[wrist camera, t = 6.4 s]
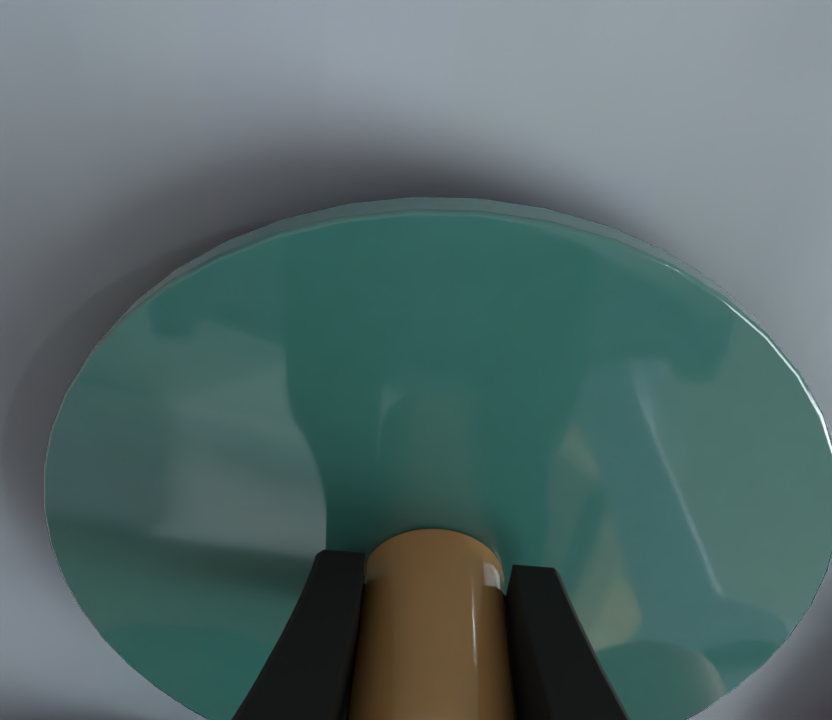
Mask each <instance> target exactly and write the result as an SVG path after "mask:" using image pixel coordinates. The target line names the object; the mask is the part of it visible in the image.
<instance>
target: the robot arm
mask: <svg viewBox="0 0 832 720" xmlns="http://www.w3.org/2000/svg"><path fill="white" fill-rule="evenodd" d="M364 566H365V553H362V552H350V551H337V550H325V549H324V550H322V551H321V552H319V553H318V554H316V557H315V560H314V563H313V565H312V568H311V571H310V574H309V576H308V578H307V581H306V583H305V586H304V588H303V590H302V593H301V595H300V597H299V599H298V601H297V603H296V606H295V608H294V610H293V612H292V614H291V616H290V618H289V620H288V622H287V624H286V626H285V628H284V630H283V632H282V634H281V636H280V637H279V639H278V641H277V643H276V645H275V646H274V648H273V650H272V652H271V654H270V655H269V657H268V659H267V661H266V663H265V664H264V666H263V668H262V670H261V672H260V673H259V675H258V677H257V679H256V681H255V682H254V684H253V686H252V687H251V689H250V691H249V692H248V694H247V696H246V697H245V699H244V700H243V702H242V704H241V705H240V707H239V708H238V710H237V712H236V713H235V715H234V716H233V718H232V719H231V720H345V717H346V709H347V701H348V693H349V685H350V678H351V671H352V666H353V660H354V655H355V649H356V643H357V635H358V627H359V618H360V610H361V601H362V593H363V584H364ZM506 604H507V616H508V627H509V638H510V649H511V659H512V670H513V682H514V693H515V704H516V716H517V720H631V719H630V717H629V716H628V714H627V712H626V710H625V708H624V706H623V705H622V703H621V701H620V699H619V697H618V695H617V694H616V692H615V690H614V688H613V686H612V684H611V682H610V681H609V679H608V677H607V675H606V673H605V671H604V669H603V667H602V665H601V663H600V661H599V659H598V657H597V655H596V653H595V651H594V649H593V647H592V645H591V643H590V641H589V639H588V637H587V635H586V633H585V631H584V629H583V626H582V624H581V622H580V620H579V618H578V616H577V613H576V611H575V609H574V607H573V605H572V602H571V600H570V598H569V595H568V593H567V591H566V588H565V586H564V583H563V581H562V578H561V576H560V574H559V573H558V572H557V570H556V569H555V568H551V567H539V566H526V565H514V564H513V565H512V570H511V574H510V579H509V584H508V588H507V593H506Z"/></svg>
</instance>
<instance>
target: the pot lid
mask: <svg viewBox="0 0 832 720" xmlns="http://www.w3.org/2000/svg"><path fill="white" fill-rule="evenodd" d="M43 479H44V513H45V518H46V523H47V528H48V533H49V538H50V543H51V547H52V549H53V552H54V555H55V557H56V560H57V563H58V565H59V568H60V571H61V573H62V576H63V578H64V580H65V582H66V584H67V586H68V587H69V589H70V591H71V593H72V594H73V596H74V598H75V600H76V602H77V603H78V605H79V607H80V609H81V610H82V612H83V613H84V614H85V616H86V617H87V618H88V619H89V621H90V622H91V623H92V625H93V626H94V627H95V629H96V630H97V631H98V633H99V634H100V635H101V636H102V638H103V639H104V640H105V641H106V642H107V643H108V644H109V645H110V646H111V647H112V648H113V649H114V650H115V651H116V652H117V653H118V654H119V655H120V656H121V657H122V658H123V659H124V660H125V661H126V662H127V663H128V664H129V665H130V666H131V667H132V668H133V669H134V670H136V671H137V672H138V673H139V674H141V675H142V676H143V677H144V678H146V679H147V680H148V681H149V682H150V683H152V684H153V685H154V686H155V687H157V688H158V689H159V690H161V691H162V692H164V693H165V694H167V695H168V696H170V697H172V698H173V699H175V700H176V701H178V702H179V703H181V704H182V705H184V706H185V707H187V708H188V709H190V710H192V711H194V712H195V713H197V714H199V715H201V716H203V717H205V718H207V719H209V720H231V719H232V718H233V716H234V715H235V713H236V712H237V710H238V708H239V707H240V705H241V704H242V702H243V700H244V699H245V697H246V696H247V694H248V692H249V691H250V689H251V687H252V686H253V684H254V682H255V681H256V679H257V677H258V675H259V673H260V672H261V670H262V668H263V666H264V664H265V663H266V661H267V659H268V657H269V655H270V654H271V652H272V650H273V648H274V646H275V645H276V643H277V641H278V639H279V637H280V636H281V634H282V632H283V630H284V628H285V626H286V624H287V622H288V620H289V618H290V616H291V614H292V612H293V610H294V608H295V606H296V603H297V601H298V599H299V597H300V595H301V593H302V590H303V588H304V586H305V583H306V581H307V578H308V576H309V574H310V571H311V568H312V565H313V563H314V560H315V557H316V554H318V553H319V552H321V551H322V550H324V549H325V550H337V551H350V552H362V553H365V566H364V584H363V593H362V601H361V610H360V618H359V627H358V635H357V643H356V649H355V655H354V660H353V666H352V671H351V678H350V685H349V693H348V701H347V709H346V717H345V720H517V716H516V704H515V693H514V682H513V670H512V659H511V649H510V638H509V627H508V616H507V604H506V593H507V588H508V584H509V579H510V574H511V570H512V565H513V564H514V565H526V566H539V567H551V568H555V569H556V570H557V572H558V573H559V574H560V576H561V578H562V581H563V583H564V586H565V588H566V591H567V593H568V595H569V598H570V600H571V602H572V605H573V607H574V609H575V611H576V613H577V616H578V618H579V620H580V622H581V624H582V626H583V629H584V631H585V633H586V635H587V637H588V639H589V641H590V643H591V645H592V647H593V649H594V651H595V653H596V655H597V657H598V659H599V661H600V663H601V665H602V667H603V669H604V671H605V673H606V675H607V677H608V679H609V681H610V682H611V684H612V686H613V688H614V690H615V692H616V694H617V695H618V697H619V699H620V701H621V703H622V705H623V706H624V708H625V710H626V712H627V714H628V716H629V717H630V719H631V720H687V719H688V718H690V717H692V716H694V715H696V714H698V713H699V712H701V711H703V710H705V709H706V708H708V707H709V706H711V705H712V704H714V703H715V702H717V701H718V700H720V699H721V698H723V697H724V696H725V695H727V694H728V693H730V692H731V691H733V690H734V689H736V688H737V687H738V686H739V685H740V684H742V683H743V682H744V681H745V680H746V679H747V678H749V677H750V676H751V675H752V674H753V673H754V672H756V671H757V670H758V669H759V668H760V667H761V666H763V665H764V664H765V663H766V662H767V661H768V659H769V658H770V657H771V656H772V655H773V654H774V653H775V652H776V651H777V650H778V648H779V647H780V646H781V645H782V644H783V643H784V642H785V641H786V640H787V639H788V637H789V636H790V635H791V634H792V632H793V631H794V629H795V628H796V626H797V625H798V623H799V622H800V620H801V619H802V617H803V616H804V615H805V613H806V612H807V610H808V609H809V607H810V606H811V604H812V602H813V600H814V598H815V595H816V593H817V591H818V589H819V587H820V585H821V583H822V581H823V579H824V576H825V574H826V572H827V569H828V566H829V562H830V558H831V555H832V441H831V438H830V435H829V432H828V429H827V426H826V423H825V420H824V417H823V414H822V411H821V410H820V408H819V406H818V404H817V402H816V401H815V399H814V397H813V395H812V393H811V392H810V390H809V388H808V386H807V384H806V383H805V381H804V379H803V377H802V375H801V374H800V372H799V370H798V369H797V368H796V366H795V365H794V364H793V363H792V361H791V360H790V359H789V357H788V356H787V355H786V354H785V352H784V351H783V350H782V349H781V347H780V346H779V345H778V344H777V343H776V341H775V340H774V339H773V338H772V337H771V335H770V334H769V333H768V332H767V330H766V329H765V328H764V327H763V326H762V324H761V323H760V322H759V321H758V319H757V318H756V317H755V316H754V315H752V314H751V313H750V312H749V311H748V310H747V309H745V308H744V307H743V306H742V305H741V304H740V303H739V302H737V301H736V300H735V299H734V298H733V297H732V296H730V295H729V294H728V293H727V292H726V291H725V290H724V289H722V288H721V287H720V286H719V285H718V284H717V283H715V282H714V281H712V280H711V279H709V278H708V277H706V276H704V275H703V274H701V273H700V272H698V271H696V270H695V269H693V268H692V267H690V266H688V265H687V264H685V263H684V262H682V261H680V260H679V259H677V258H676V257H674V256H672V255H671V254H669V253H668V252H666V251H664V250H662V249H659V248H657V247H655V246H653V245H650V244H648V243H646V242H644V241H641V240H639V239H637V238H634V237H632V236H630V235H628V234H625V233H623V232H621V231H619V230H616V229H614V228H612V227H609V226H606V225H603V224H599V223H596V222H592V221H589V220H585V219H582V218H578V217H575V216H571V215H568V214H564V213H561V212H557V211H554V210H550V209H547V208H541V207H534V206H527V205H521V204H514V203H507V202H501V201H494V200H487V199H481V198H440V197H407V198H397V199H388V200H378V201H369V202H359V203H350V204H344V205H339V206H335V207H331V208H327V209H323V210H318V211H314V212H310V213H306V214H302V215H297V216H293V217H289V218H285V219H282V220H279V221H277V222H274V223H271V224H269V225H266V226H264V227H261V228H259V229H256V230H253V231H251V232H248V233H246V234H243V235H240V236H238V237H235V238H233V239H230V240H227V241H225V242H224V243H222V244H220V245H218V246H217V247H215V248H213V249H211V250H209V251H208V252H206V253H204V254H202V255H201V256H199V257H197V258H195V259H193V260H192V261H190V262H188V263H186V264H184V265H183V266H181V267H179V268H177V269H176V270H175V271H173V272H172V273H171V274H170V275H168V276H167V277H166V278H164V279H163V280H162V281H161V282H159V283H158V284H157V285H156V286H154V287H153V288H152V289H150V290H149V291H148V292H147V293H145V294H144V295H143V296H141V297H140V298H139V299H138V300H136V301H135V302H134V303H133V304H132V305H131V307H130V308H129V309H128V310H127V311H126V312H125V313H124V314H123V315H122V316H121V317H120V319H119V320H118V321H117V322H116V323H115V324H114V325H113V326H112V327H111V328H110V329H109V331H108V332H107V333H106V334H105V335H104V336H103V337H102V338H101V340H100V341H99V342H98V343H97V345H96V346H95V347H94V348H93V350H92V351H91V352H90V354H89V355H88V357H87V359H86V360H85V362H84V363H83V365H82V367H81V368H80V370H79V371H78V373H77V374H76V376H75V378H74V379H73V381H72V382H71V384H70V385H69V387H68V389H67V390H66V392H65V395H64V398H63V400H62V403H61V405H60V408H59V410H58V413H57V415H56V418H55V420H54V423H53V425H52V428H51V431H50V437H49V442H48V448H47V453H46V458H45V464H44V470H43Z"/></svg>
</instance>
